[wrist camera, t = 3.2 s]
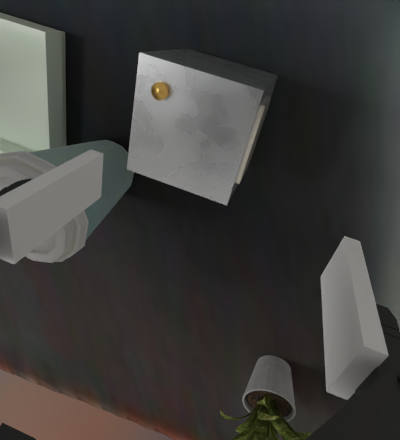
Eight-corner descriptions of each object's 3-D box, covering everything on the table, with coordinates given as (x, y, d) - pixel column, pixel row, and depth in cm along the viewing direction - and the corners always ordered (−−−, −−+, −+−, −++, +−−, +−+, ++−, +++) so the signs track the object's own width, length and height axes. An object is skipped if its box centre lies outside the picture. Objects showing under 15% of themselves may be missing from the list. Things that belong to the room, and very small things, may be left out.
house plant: (277, 412, 53) (265, 541, 40) (210, 366, 52) (174, 480, 39) (341, 380, 45) (353, 527, 31) (263, 324, 44) (240, 450, 31)
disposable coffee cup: (102, 211, 43) (16, 280, 31) (57, 137, 40) (-60, 182, 27) (165, 189, 39) (94, 261, 26) (122, 102, 35) (15, 139, 22)
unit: (168, 137, 35) (121, 169, 27) (184, 47, 30) (132, 51, 22) (250, 165, 34) (229, 208, 25) (281, 76, 29) (267, 92, 20)
